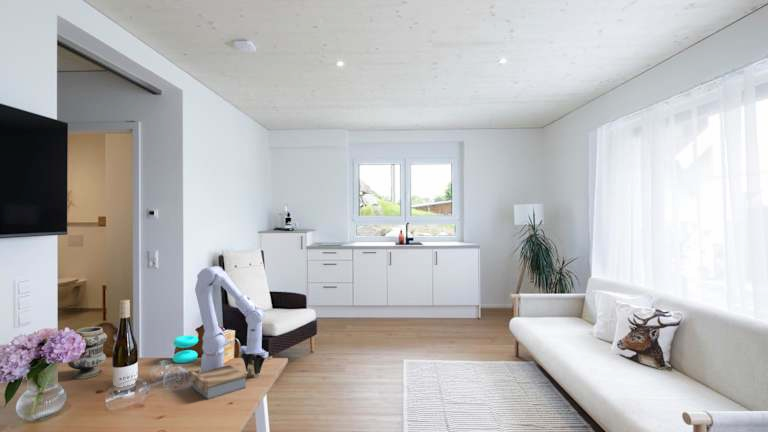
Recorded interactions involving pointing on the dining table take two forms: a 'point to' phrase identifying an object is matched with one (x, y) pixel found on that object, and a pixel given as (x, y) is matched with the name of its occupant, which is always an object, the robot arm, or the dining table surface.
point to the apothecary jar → (90, 353)
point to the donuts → (186, 354)
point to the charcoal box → (222, 388)
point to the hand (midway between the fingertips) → (253, 372)
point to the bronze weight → (251, 370)
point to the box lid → (214, 377)
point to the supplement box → (229, 345)
